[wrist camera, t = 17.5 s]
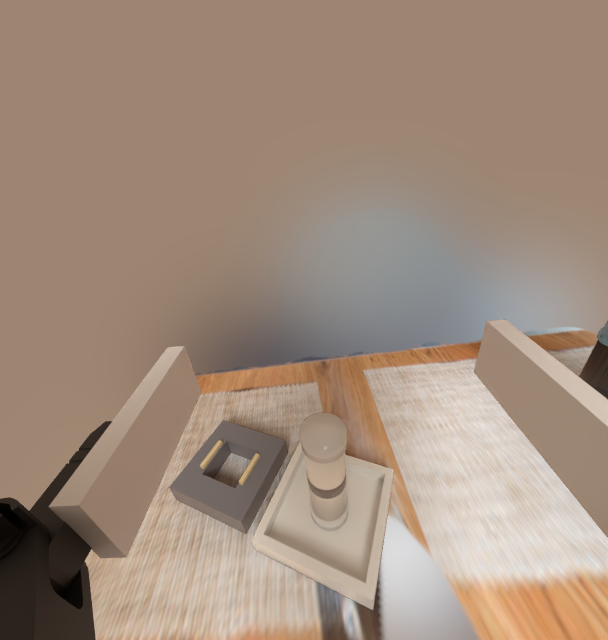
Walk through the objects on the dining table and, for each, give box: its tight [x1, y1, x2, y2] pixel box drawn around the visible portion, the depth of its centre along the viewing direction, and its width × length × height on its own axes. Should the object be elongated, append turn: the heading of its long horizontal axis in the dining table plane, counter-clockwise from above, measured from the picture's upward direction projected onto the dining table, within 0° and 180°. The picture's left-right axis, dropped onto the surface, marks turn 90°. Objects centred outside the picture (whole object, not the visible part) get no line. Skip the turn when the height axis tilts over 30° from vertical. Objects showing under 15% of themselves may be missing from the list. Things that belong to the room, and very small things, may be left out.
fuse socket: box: [169, 420, 288, 534], centre depth 41 cm, size 12×12×4 cm
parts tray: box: [252, 441, 394, 610], centre depth 36 cm, size 14×14×2 cm
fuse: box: [300, 412, 348, 531], centre depth 32 cm, size 5×5×15 cm
